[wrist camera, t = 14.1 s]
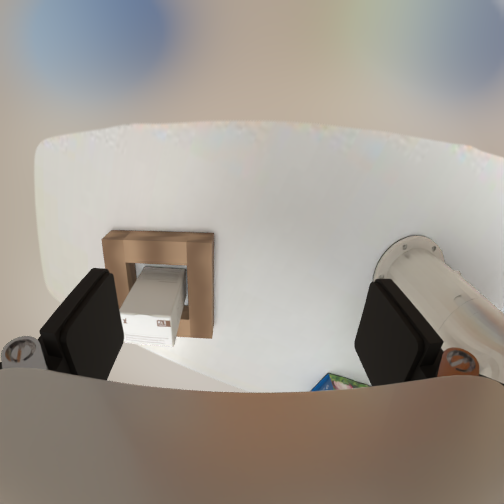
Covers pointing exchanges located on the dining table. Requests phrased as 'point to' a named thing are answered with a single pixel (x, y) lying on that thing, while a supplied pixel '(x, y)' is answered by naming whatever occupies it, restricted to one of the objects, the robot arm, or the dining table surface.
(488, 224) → the dining table surface
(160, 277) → the skincare box
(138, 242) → the wooden square frame
